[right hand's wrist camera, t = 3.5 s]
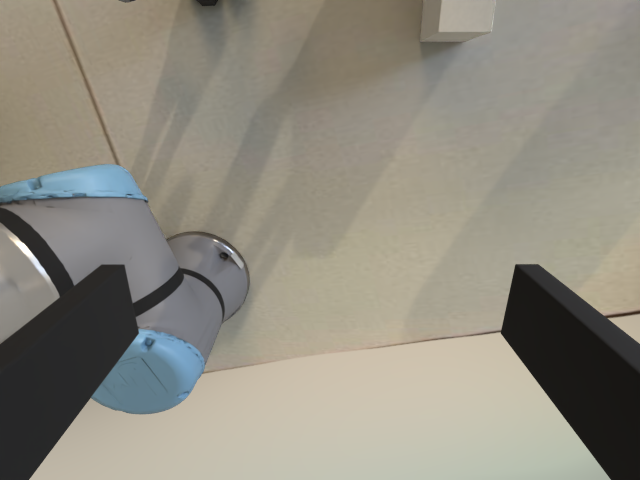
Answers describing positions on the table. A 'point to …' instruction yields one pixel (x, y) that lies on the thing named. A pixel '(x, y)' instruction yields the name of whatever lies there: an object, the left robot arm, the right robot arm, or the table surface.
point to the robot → (203, 0)
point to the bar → (456, 20)
